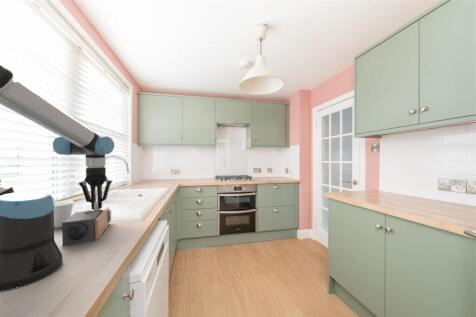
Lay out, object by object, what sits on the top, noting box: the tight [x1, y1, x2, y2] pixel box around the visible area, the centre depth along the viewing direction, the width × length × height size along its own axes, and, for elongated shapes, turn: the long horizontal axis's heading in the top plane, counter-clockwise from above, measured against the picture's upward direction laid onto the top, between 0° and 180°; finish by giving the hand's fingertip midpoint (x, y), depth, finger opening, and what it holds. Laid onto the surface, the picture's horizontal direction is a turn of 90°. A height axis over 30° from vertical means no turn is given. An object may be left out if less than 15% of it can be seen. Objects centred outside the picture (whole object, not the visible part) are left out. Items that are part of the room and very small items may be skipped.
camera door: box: [95, 206, 112, 240], centre depth 85 cm, size 20×2×8 cm, turn 24°
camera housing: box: [61, 208, 104, 247], centre depth 79 cm, size 16×10×10 cm, turn 24°
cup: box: [53, 200, 75, 229], centre depth 92 cm, size 10×10×11 cm
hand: (97, 215), depth 90 cm, fingers closed
